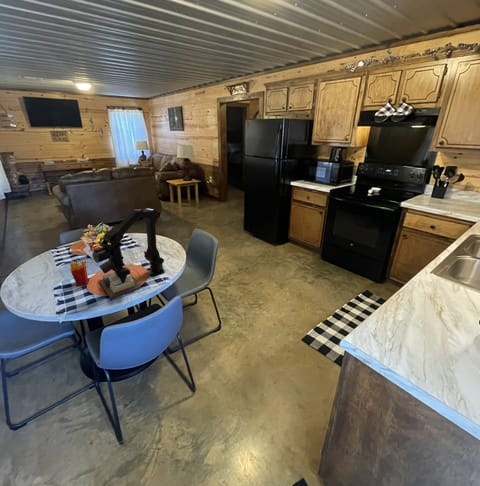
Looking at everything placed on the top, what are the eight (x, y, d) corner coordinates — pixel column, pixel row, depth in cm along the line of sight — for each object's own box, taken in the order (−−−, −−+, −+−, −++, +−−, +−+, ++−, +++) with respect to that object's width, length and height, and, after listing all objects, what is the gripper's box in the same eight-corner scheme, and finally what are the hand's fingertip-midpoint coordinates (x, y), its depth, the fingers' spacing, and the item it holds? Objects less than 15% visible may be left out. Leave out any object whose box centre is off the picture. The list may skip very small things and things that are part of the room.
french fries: (76, 281, 152) (70, 258, 146) (92, 278, 154) (87, 255, 149) (74, 289, 144) (67, 265, 138) (91, 286, 147) (84, 262, 141)
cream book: (128, 274, 147) (127, 270, 146) (132, 278, 143) (131, 275, 142) (109, 280, 141) (108, 277, 140) (113, 285, 137) (112, 281, 136)
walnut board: (127, 272, 160) (126, 271, 160) (141, 288, 145) (140, 286, 145) (99, 282, 151) (98, 280, 150) (110, 299, 135) (110, 297, 135)
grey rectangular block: (125, 273, 157) (123, 268, 156) (127, 277, 153) (126, 271, 152) (103, 280, 150) (102, 275, 148) (106, 284, 146) (104, 278, 145)
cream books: (130, 281, 149) (129, 275, 148) (134, 285, 145) (133, 280, 144) (110, 288, 143) (108, 282, 141) (113, 293, 139) (112, 287, 137)
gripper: (94, 253, 138) (100, 279, 144) (104, 266, 125) (111, 294, 131) (116, 247, 145) (121, 272, 151) (128, 259, 132) (133, 286, 138)
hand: (121, 280), depth 142 cm, fingers closed on cream book, 6 cm apart
